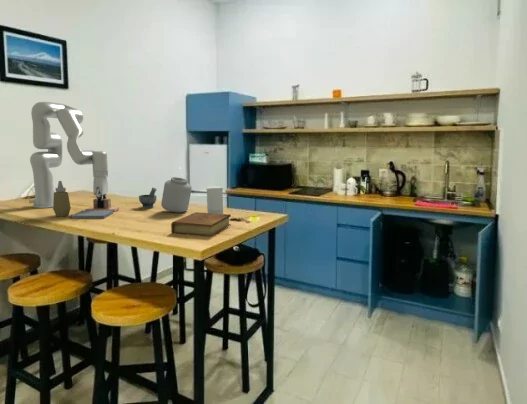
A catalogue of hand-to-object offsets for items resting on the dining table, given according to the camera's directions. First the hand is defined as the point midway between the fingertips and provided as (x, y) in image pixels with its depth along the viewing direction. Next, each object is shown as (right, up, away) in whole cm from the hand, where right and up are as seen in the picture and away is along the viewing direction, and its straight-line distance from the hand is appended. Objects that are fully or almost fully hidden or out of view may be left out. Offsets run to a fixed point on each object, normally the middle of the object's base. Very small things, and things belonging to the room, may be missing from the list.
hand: (102, 206), depth 215 cm
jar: (+42, -3, +1) cm, 42 cm away
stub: (0, -2, 0) cm, 2 cm away
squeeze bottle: (-15, -5, -14) cm, 21 cm away
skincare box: (+64, -5, -11) cm, 65 cm away
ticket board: (+1, -5, -14) cm, 15 cm away
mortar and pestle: (+22, -1, +12) cm, 25 cm away
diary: (+62, -10, -39) cm, 74 cm away
